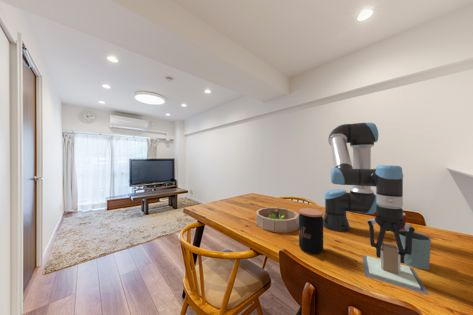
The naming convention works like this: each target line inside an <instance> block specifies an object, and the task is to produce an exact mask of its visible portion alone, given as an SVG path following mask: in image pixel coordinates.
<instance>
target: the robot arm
mask: <svg viewBox="0 0 473 315" xmlns="http://www.w3.org/2000/svg"><path fill="white" fill-rule="evenodd" d="M378 141H379V129H378V127H377V125H376V124H375V123H374V122H358V123H355V122H354V123H344V124H341V125H338V126H336V127H335V128H334V129H332V130H331V132H330V133H329V135H328V143H329V146H331V153H332V161H333V168H331V169H330V181H331V183H332V184H333V185H341V186H352V188H350V189H349V192H347V190H345V189H336V188H335V189H329V190H327V191H325V193H324V194H325V195H324V206H325V207H324V214H323V228H326V229H329V230H332V231H335V232H348V231H350V230H351V229H350V228H351V226H350V222H349V220H348V217H347V213H358V214H365V215H373V214H375V213H376V214H375V217H374V218H372V219H369V218H367V220H366V221H367V224H368V228H369V243H370V246H371V247H372V248H373V247H374V248H375V255H376V258H377V259H380V267H381V268H383V249H382V242H384V239H385V236H386V235H385V234H386V232H391V233H393V235H394V238H395V242H396V247H397V249H398V250H399V252H398V273H401V270H400V264H402V265H404V264H405V263H404V256H405V255H406V254H408V255H411V254H412V234H413V233H414V232H416V229H415V227H414V226H412V225H408V224H407V223H406V224H405V223H404V221H403V213H404V210H403V207H404V200H403V199H404V198H403V197H404V185H403V184H404V174H403V167H402V166H401V165H386V164H385V165H384V164H381V165H377V166H376V168H371V167H372V165H371V164H372V162H371V159H372V158H371V157H372V153H371V152H372V148H373V147H374V146H375V143H377V142H378ZM348 144H349V145H350V146H349V147H351V148H352V159H351V156H350V152H349V149H348ZM371 187H375V188H376V190H375V191H374V190H373V189H372V188H371ZM375 192H376V193H375ZM376 224H377V225H378V227H379V232H378V235H377V239H376V242H375V228H374V226H375V225H376ZM403 227H405V230H406V238H405V249H403V246H402V243H401V239H400V235H399V230H401V229H402V228H403Z"/></svg>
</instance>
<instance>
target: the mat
mask: <svg viewBox="0 0 473 315" xmlns="http://www.w3.org/2000/svg"><path fill="white" fill-rule="evenodd" d="M367 256H368V255H361V258H362V263H363V264H362V265H363V271H364V272H363V273H364V276H365V277H368V278H371V279H374V280H377V281H381V282H385V283H386V284H391V285H394V286H398V287H400V288H403V289H406V290H411V291H413V292H416V293H417V292H418V293H420V294H423V295H427V296H430V294H429V293H428V291H427V289H426V287H425V285H424V284H423V283H422V281H421V278H420V277H419V276H418V274H417V272H416V270H415V268H414V267H411V266H409V268H410V270H411V271H412V273H413V275H414V277H415V279H416V280H417V282H418V284H419V286H420V288H421V290H419V289H415V288H412V287H409V286H405V285H402V284H399V283H395V282H392V281H388V280H385V279H382V278H378V277H375V276H372V275H370V274H369V269H368V263H367Z"/></svg>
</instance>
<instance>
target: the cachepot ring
mask: <svg viewBox="0 0 473 315" xmlns="http://www.w3.org/2000/svg"><path fill="white" fill-rule="evenodd" d="M276 209H277V210H279V209H280V210H281V212H279V215H280V217H281V216H283V215H284V217H283V218H288V219H286V220H281V219H271V218H266V217H270V216H269V215H271V216H272V214H273V215H275V214H274V213H273V212H271V213H269V211H274V212H275V213H276V211H275V210H276ZM255 213H256V214H255V221H256V222H255V224H256V226H258V228H260V229H262V230H265V231H268V232H273V233H290V232H294V231H297V230H298V229H299V213H298V212H296V211H295V210H291V209H289V208H284V207H283V208H282V207H272V206H270V207H261V208H259V209H258V210H256V211H255Z"/></svg>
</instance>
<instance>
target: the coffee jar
mask: <svg viewBox="0 0 473 315" xmlns="http://www.w3.org/2000/svg"><path fill="white" fill-rule="evenodd" d="M298 215H299V227H298V245H299V246H298V247H299V248H300V250H301V251H302V252H304V253H306V254H308V255H315V256H316V255H320V254H322V253H323V252H324V226H323V218H324V212H323V211H322V210H320V209H315V208H309V207H308V208H307V207H305V208H300V209H299V210H298Z"/></svg>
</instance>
